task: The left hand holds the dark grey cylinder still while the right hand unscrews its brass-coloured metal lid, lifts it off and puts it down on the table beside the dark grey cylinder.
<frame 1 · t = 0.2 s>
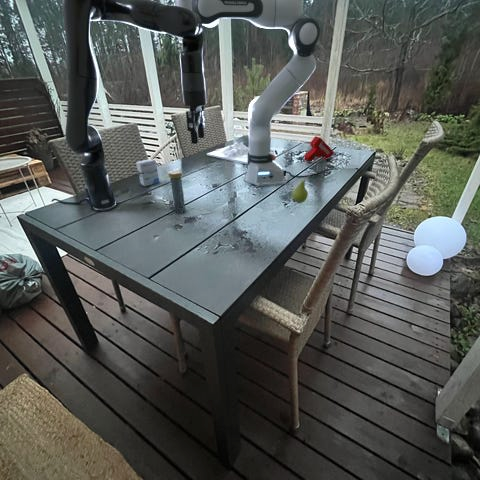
left hand: (198, 140, 97), 29 cm above the table, tool pointing down, fingers open, 8 cm apart
right hand: (192, 76, 120), 48 cm above the table, tool pointing down, fingers open, 8 cm apart
fruit: (299, 202, 122), on the table
dark grey cylinder: (180, 211, 114), on the table
toy gun: (318, 160, 174), on the table
ink box: (150, 183, 142), on the table
relief map: (239, 155, 186), on the table
lid: (175, 172, 105), point 17 cm above the table, screwed on, not yet turned
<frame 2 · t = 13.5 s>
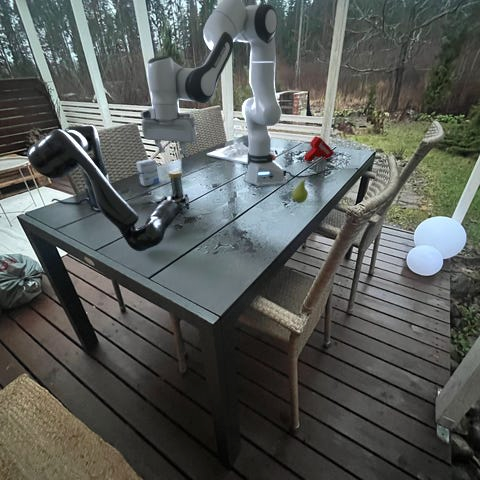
left hand: (180, 195, 113), 6 cm above the table, tool horizontal, fingers closed on dark grey cylinder, 4 cm apart
right hand: (172, 153, 101), 24 cm above the table, tool pointing down, fingers open, 7 cm apart
dark grey cylinder: (180, 211, 114), on the table, touching left hand
everything else where it was.
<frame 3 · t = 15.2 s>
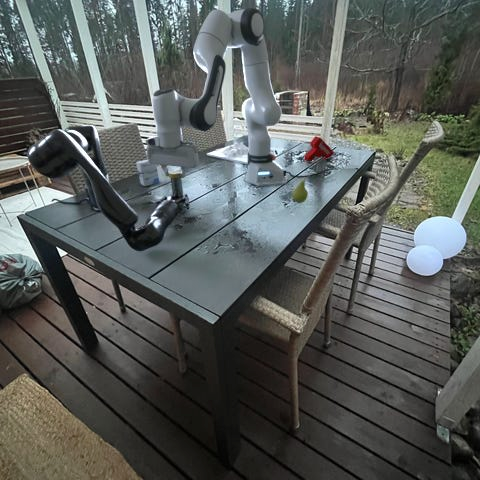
left hand: (180, 195, 113), 6 cm above the table, tool horizontal, fingers closed on dark grey cylinder, 4 cm apart
right hand: (175, 176, 106), 15 cm above the table, tool pointing down, fingers closed on lid, 5 cm apart
dark grey cylinder: (180, 211, 114), on the table, touching left hand
lid: (175, 172, 105), point 17 cm above the table, screwed on, not yet turned, touching right hand
everything else where it was.
when the right hand's fingers open (15 cm above the table, at t = 16.4 s): lid stays where it is, point 17 cm above the table.
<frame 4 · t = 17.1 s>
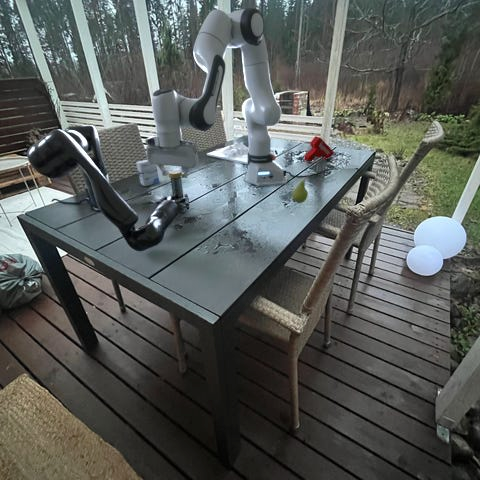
left hand: (180, 195, 113), 6 cm above the table, tool horizontal, fingers closed on dark grey cylinder, 4 cm apart
right hand: (175, 176, 106), 15 cm above the table, tool pointing down, fingers open, 7 cm apart
dark grey cylinder: (180, 211, 114), on the table, touching left hand
lid: (175, 172, 105), point 17 cm above the table, turned 46° so far, risen 0.1 cm, still on its thread
everything else where it was.
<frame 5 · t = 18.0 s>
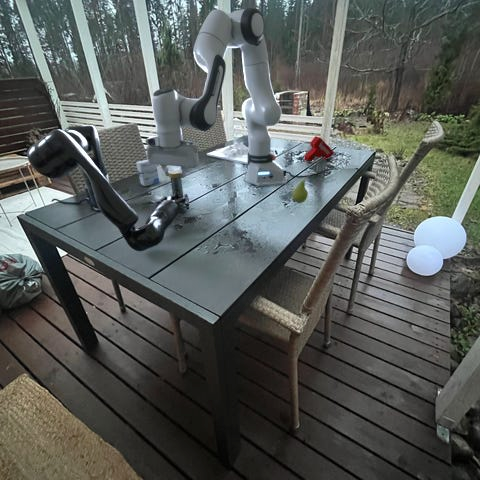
left hand: (180, 195, 113), 6 cm above the table, tool horizontal, fingers closed on dark grey cylinder, 4 cm apart
right hand: (175, 176, 106), 15 cm above the table, tool pointing down, fingers closed on lid, 5 cm apart
dark grey cylinder: (180, 211, 114), on the table, touching left hand
lid: (175, 172, 105), point 17 cm above the table, turned 46° so far, risen 0.1 cm, still on its thread, touching right hand
everything else where it was.
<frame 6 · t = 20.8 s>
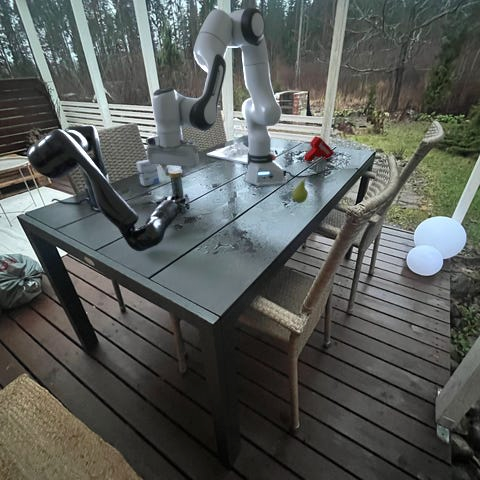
left hand: (180, 195, 113), 6 cm above the table, tool horizontal, fingers closed on dark grey cylinder, 4 cm apart
right hand: (175, 176, 106), 16 cm above the table, tool pointing down, fingers closed on lid, 5 cm apart
dark grey cylinder: (180, 211, 114), on the table, touching left hand
lid: (175, 172, 105), point 17 cm above the table, turned 91° so far, risen 0.3 cm, still on its thread, touching right hand
everything else where it was.
when the right hand's fingers open (2 cm above the table, at t = 27.0 s): lid drops 2 cm, point 1 cm above the table.
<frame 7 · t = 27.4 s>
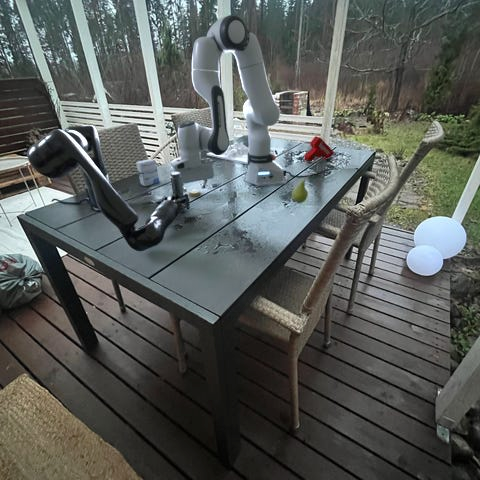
left hand: (180, 195, 113), 6 cm above the table, tool horizontal, fingers closed on dark grey cylinder, 4 cm apart
right hand: (194, 190, 128), 2 cm above the table, tool pointing down, fingers open, 8 cm apart
dark grey cylinder: (180, 211, 114), on the table, touching left hand
lid: (194, 191, 129), point 1 cm above the table, off its thread
everything else where it was.
when the left hand's fingers open (6 cm above the table, at t = 28.0 s): dark grey cylinder stays where it is, on the table.
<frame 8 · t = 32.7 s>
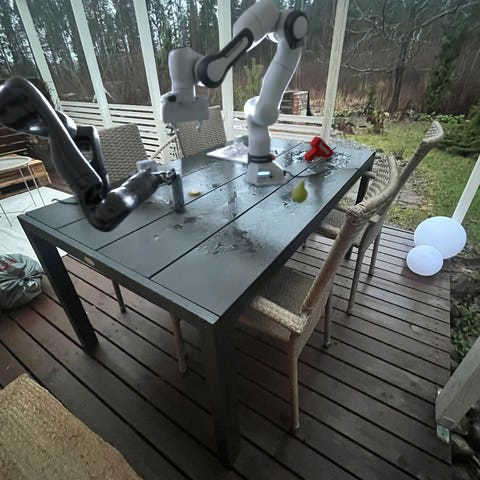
left hand: (161, 170, 93), 22 cm above the table, tool horizontal, fingers open, 8 cm apart
right hand: (188, 133, 115), 28 cm above the table, tool pointing down, fingers open, 8 cm apart
dark grey cylinder: (180, 211, 114), on the table
everything else where it was.
at the end: lid came off its thread; lid point 1.2 cm above the table; the left hand is holding nothing; the right hand is holding nothing; dark grey cylinder tilted 0°; dark grey cylinder moved 0.1 cm from its start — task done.
